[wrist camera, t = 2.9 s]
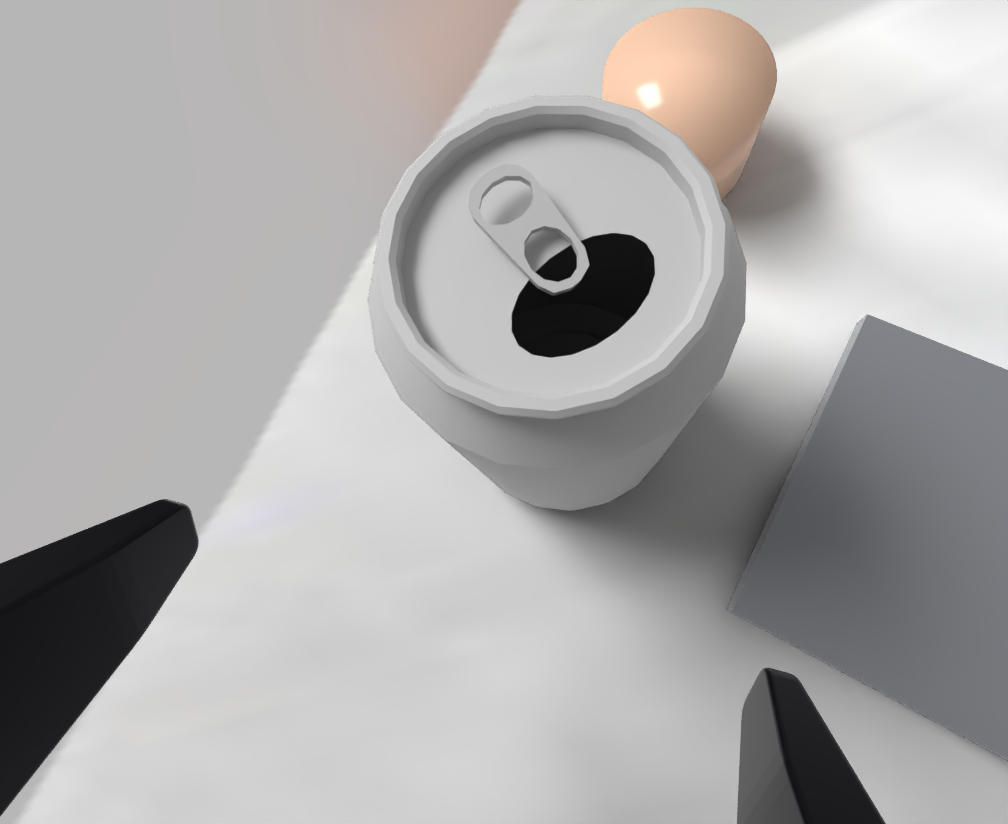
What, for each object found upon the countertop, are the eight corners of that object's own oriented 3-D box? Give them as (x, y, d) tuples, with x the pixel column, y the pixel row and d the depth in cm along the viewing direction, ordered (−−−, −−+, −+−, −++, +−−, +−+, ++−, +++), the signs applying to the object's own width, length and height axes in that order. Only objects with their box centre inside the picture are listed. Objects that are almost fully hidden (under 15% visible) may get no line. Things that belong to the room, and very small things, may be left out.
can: (551, 557, 21) (509, 554, 9) (424, 397, 23) (257, 226, 11) (717, 421, 21) (880, 250, 9) (578, 274, 23) (572, -14, 11)
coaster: (1096, 808, 17) (1120, 819, 16) (726, 609, 19) (732, 611, 19) (1212, 466, 19) (1239, 462, 18) (857, 323, 21) (867, 314, 20)
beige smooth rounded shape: (699, 241, 23) (722, 176, 19) (573, 179, 24) (571, 107, 20) (771, 128, 23) (808, 44, 20) (645, 75, 25) (656, -15, 21)
